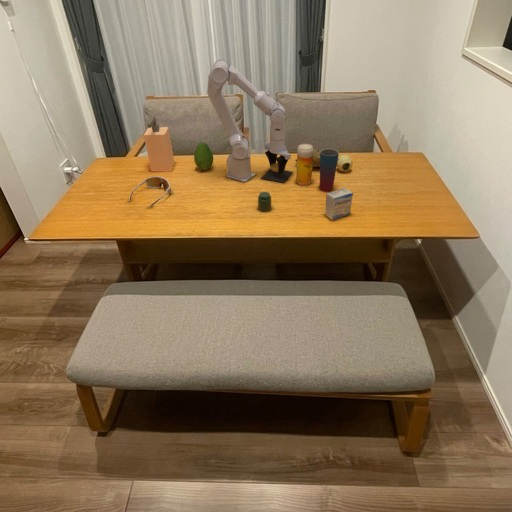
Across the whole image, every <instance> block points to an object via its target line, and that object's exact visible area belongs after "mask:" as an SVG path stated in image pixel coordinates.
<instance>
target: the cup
mask: <svg viewBox="0 0 512 512" xmlns="http://www.w3.org/2000/svg"><path fill="white" fill-rule="evenodd" d="M320 150H321V151H320V167H319V191H322V192H326V193H330V192H333V189H334V184H335V178H336V172H337V161H338V158H339V157H340V155H339V154H340V151H339V150H338V149H335V148H331V147H327V148H322V149H320Z"/></svg>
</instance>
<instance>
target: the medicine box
mask: <svg viewBox="0 0 512 512" xmlns="http://www.w3.org/2000/svg"><path fill="white" fill-rule="evenodd" d="M353 195H354V193H353V192H352V191H351V190H350V189H348V188H341V189H337V190H334V191H330V192H326V195H325V197H326V198H325V209H324V216H326V217H327V218H329V219H330V220H332V221H334V220H337V219H340V218H344V217H346V216H350V215H351V210H352V203H353Z"/></svg>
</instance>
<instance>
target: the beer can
mask: <svg viewBox="0 0 512 512" xmlns="http://www.w3.org/2000/svg"><path fill="white" fill-rule="evenodd" d="M313 150H315V149H314V146H313V145H312V144H310V143H301V144H299V145H298V147H297V150H296V151H297V152H296V153H297V154H296V159H297V162H296V163H297V164H296V173H295V174H296V175H295V176H296V177H295V181H296V183H297V184H298V185H299V186H300V185H301V186H308V185H310V183H311V182H312V179H313V166H312V165H313Z"/></svg>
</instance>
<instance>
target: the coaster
mask: <svg viewBox="0 0 512 512" xmlns="http://www.w3.org/2000/svg"><path fill="white" fill-rule="evenodd" d="M293 173H294V172H293V171H290V170H285V169H284V172H283V173H279V172H276V171H272V170H271V167H270V168H269V169H268V170H267V171H266V172H265V173H264V174H263V176H262V177H261V178H260V179H261V180H264V181H270V182H274V183H279V184H285V183H286V182H287V181H288V180H289V178H290V177H291V176H292V175H293Z"/></svg>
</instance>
